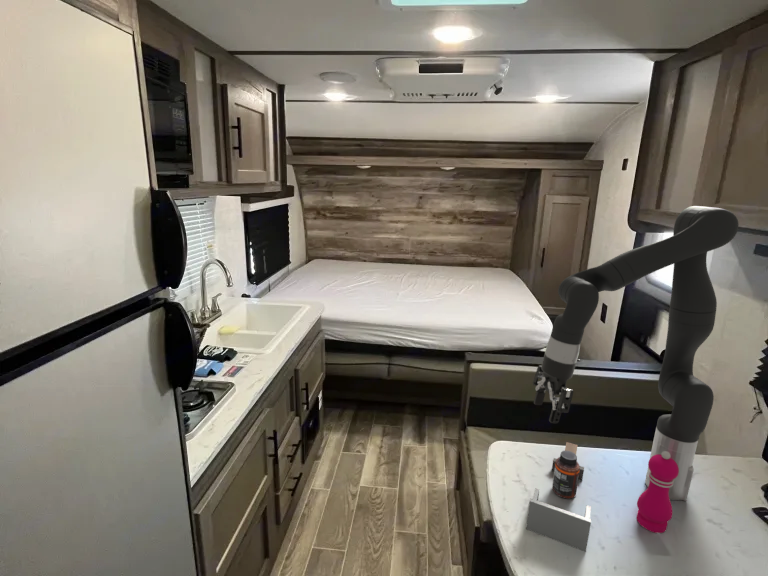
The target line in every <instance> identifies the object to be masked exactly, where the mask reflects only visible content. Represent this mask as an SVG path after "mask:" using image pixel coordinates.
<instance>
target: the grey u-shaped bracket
mask: <svg viewBox="0 0 768 576" xmlns="http://www.w3.org/2000/svg"><path fill="white" fill-rule="evenodd" d="M539 496H540V489H539V488H535V489H534V492H533V496H532V498H529V504H528V511H527V519H526V525H525V529H526V530H527V531H531V532H533V533H535V534H537V535H541V536H543V537H546V538H548V539H550V540H553V541H557V542H559V543H562V544H564V545H567V546H570V547H572V548H575V549H576V550H579V551H582V552H587V546H588V542H589V541H588V540H589V538H590V537H589V535H590V530H591V524H592V519H591V511H592V510H591V509H592V506H590V505H585V506H586V508H585V513H584V516H582V515H580V514H577V513H574V512H572V511H569V510H565V509H563V508H559V507H557V506H554V505H552V504H548V503H546V502H543V501H539Z"/></svg>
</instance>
